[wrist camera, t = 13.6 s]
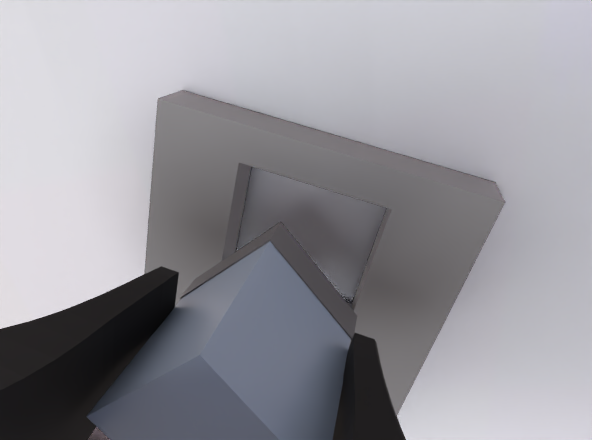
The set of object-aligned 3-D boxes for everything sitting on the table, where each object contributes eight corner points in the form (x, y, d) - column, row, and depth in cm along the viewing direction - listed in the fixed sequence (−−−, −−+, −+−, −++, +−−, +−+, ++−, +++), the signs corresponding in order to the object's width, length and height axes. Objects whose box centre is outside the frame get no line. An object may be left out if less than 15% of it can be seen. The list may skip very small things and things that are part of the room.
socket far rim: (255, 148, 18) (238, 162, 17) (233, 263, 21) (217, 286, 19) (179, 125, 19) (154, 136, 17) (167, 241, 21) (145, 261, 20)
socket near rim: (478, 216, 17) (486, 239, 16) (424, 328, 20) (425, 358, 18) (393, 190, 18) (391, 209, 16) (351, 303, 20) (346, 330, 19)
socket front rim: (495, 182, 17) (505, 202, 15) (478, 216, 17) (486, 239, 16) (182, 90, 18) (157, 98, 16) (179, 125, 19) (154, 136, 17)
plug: (357, 315, 14) (327, 488, 9) (267, 359, 16) (199, 525, 11) (281, 221, 14) (199, 351, 8) (195, 278, 15) (83, 415, 10)
